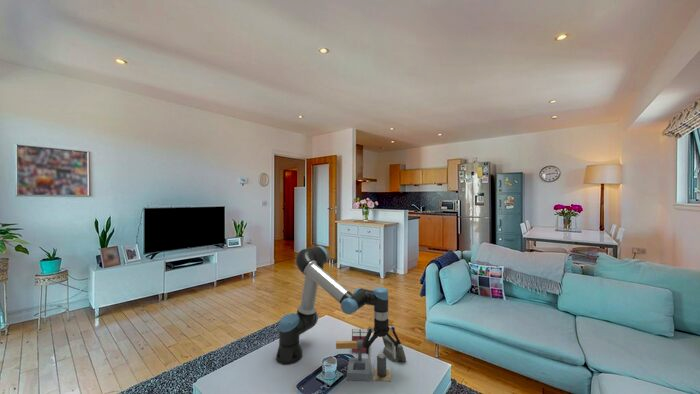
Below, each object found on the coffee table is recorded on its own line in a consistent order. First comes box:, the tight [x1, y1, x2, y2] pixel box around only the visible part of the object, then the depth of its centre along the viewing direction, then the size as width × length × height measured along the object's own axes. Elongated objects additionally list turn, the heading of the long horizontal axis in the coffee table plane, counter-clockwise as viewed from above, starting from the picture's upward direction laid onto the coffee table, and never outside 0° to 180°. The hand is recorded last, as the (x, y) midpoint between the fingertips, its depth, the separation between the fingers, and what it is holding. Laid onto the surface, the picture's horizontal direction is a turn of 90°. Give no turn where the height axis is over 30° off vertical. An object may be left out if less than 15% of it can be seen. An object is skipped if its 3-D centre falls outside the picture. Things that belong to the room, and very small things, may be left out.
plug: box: [376, 352, 387, 377], centre depth 143 cm, size 5×5×10 cm
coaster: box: [372, 368, 392, 382], centre depth 143 cm, size 9×9×1 cm
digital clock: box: [381, 336, 407, 363], centre depth 160 cm, size 16×9×11 cm, turn 23°
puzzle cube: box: [351, 328, 370, 354], centre depth 169 cm, size 10×10×10 cm
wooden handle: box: [335, 340, 363, 350], centre depth 151 cm, size 4×15×3 cm, turn 91°
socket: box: [346, 349, 372, 382], centre depth 146 cm, size 12×14×10 cm
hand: (381, 358), depth 143 cm, fingers open, 13 cm apart
